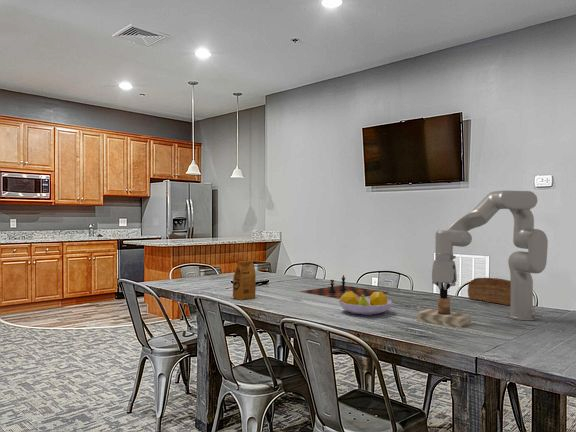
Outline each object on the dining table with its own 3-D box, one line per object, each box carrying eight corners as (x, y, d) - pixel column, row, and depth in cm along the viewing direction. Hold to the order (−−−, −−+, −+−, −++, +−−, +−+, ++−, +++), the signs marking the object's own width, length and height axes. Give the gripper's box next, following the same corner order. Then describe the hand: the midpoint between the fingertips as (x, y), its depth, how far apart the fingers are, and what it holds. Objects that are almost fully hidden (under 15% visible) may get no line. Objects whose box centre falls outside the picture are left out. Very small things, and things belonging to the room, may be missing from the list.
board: (471, 323, 210) (471, 314, 210) (459, 328, 202) (459, 318, 202) (429, 317, 224) (429, 308, 224) (417, 320, 216) (417, 312, 216)
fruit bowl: (350, 305, 253) (350, 284, 253) (399, 311, 239) (399, 288, 239) (327, 314, 229) (327, 291, 229) (380, 321, 215) (380, 296, 215)
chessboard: (341, 286, 327) (341, 270, 327) (388, 293, 296) (388, 276, 296) (299, 293, 301) (298, 275, 301) (345, 301, 270) (345, 282, 270)
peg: (452, 322, 213) (452, 297, 213) (447, 324, 209) (446, 299, 209) (441, 320, 217) (441, 296, 217) (435, 322, 213) (435, 298, 213)
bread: (515, 307, 250) (515, 282, 250) (464, 299, 275) (464, 276, 275) (527, 305, 257) (527, 280, 257) (476, 297, 282) (476, 275, 282)
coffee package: (230, 298, 274) (230, 260, 274) (248, 296, 282) (248, 259, 282) (239, 300, 267) (240, 261, 267) (257, 298, 274) (257, 260, 275)
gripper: (463, 258, 211) (463, 299, 211) (432, 256, 221) (432, 295, 221) (456, 259, 205) (455, 301, 205) (424, 257, 216) (424, 296, 216)
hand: (443, 297), depth 213 cm, fingers closed
